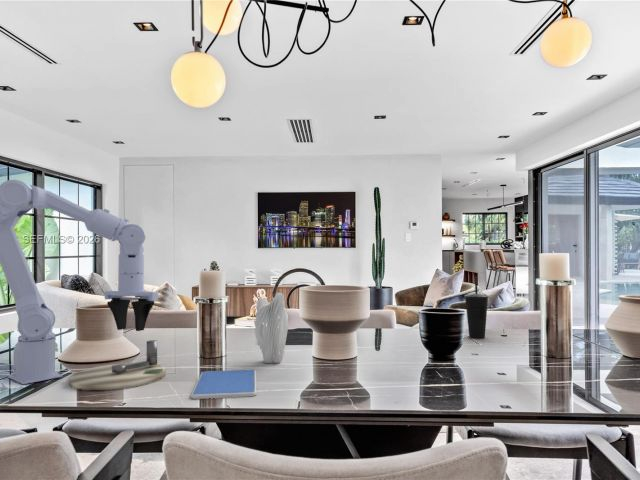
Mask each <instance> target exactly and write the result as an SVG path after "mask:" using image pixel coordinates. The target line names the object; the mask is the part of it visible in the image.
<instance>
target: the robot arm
mask: <svg viewBox="0 0 640 480" xmlns="http://www.w3.org/2000/svg"><path fill="white" fill-rule="evenodd" d="M33 208H35V209H36V210H53V211H54V212H57V213H59V214H62V215H64V216H66V217H70V218H72V219H74V220H77V221H79V222H83V223H84V225H85V229H86V230H87V231H89V232H91V233H93V234H95V235H98V236H100V237H102V238H104V239H107V240H109V241H111V242H115V241H118V243H119V244H120V245H119V254H118V265H117V267H118V268H117V269H118V270H117V271H118V275H117V276H118V280H117V283H118V284H117V285H118V286H117V290H108V291H107V290H105V291H104V300H110V301H107V302H106V305H107V306H108V308H109V309H110V312H111V314H112V316H113V317H114V321H115V326H116V329H117V331H120V330H126V329H127V319H128V310H129V305H130V303H131V306H132V308H133V313H134V328H135V331H136V332H141V331H144V330H145V327H146V323H147V321H148V320H147V319H148V317H149V314H150V312H151V311H152V309H153V306H154V305H155V301H159V292H157V291H146V290H145V289H144V288H145V285H144V284H145V283H144V282H145V280H144V279H145V276H144V272H145V271H144V269H145V266H144V265H145V263H144V262H145V257H144V256H145V255H144V245H143V244H144V242H145V240H146V235H145V231H144V229H143V228H142V227H141V226H139V225H138V224H135V223H131V224H129V222H130V220H129V219H127V218H124V219H123V218H120V217H118V216H116V215H114V214H112V213H110V212H111V211H110V210H109V209H107V208H104V209H103V210H102V209H100V208H95V209H93V210H89V209H87V208H85V207H83V206H80V205H79V204H76V203H75V202H72V201H71V200H68V199H67V198H64V197H63V196H60V195H58V194H56V193H54V192H52V191H51V190H50V191H49V190H47V189H45V188H41V187H39V186H36V185H33V184H29V186H28V185H27V183H25V182H24V181H21V180H18V179H8V180H5V181H3V182H2V183H1V184H0V265H1V269H2V271H3V274H4V276H5V279H6V283H8V286H9V289H10V291H11V292H10V293H11V294H12V296H13V299H14V303H15V311H16V314H17V319H18V320H17V321H18V322H17V330H18V333H19V335H18V337H17V342H16V343H15V345H14V348H13V363H12V364H13V372H12V373H13V374H8V378H9V379H11V380H14V381H15V382H17V383H19V384H21V385H26V384H27V385H28V384H31V383H36V382H42V381H46V380H53V379H59V378H61V377H63V374H61V373H58V372H56V333H54V332H53V331H52V330H51V329H52V328H53V327H54V325H55V323H56V316H55V313H54V311H53V310H51V309H50V308H49V307H48V306H47V304H46V303H45V300H44V298H43V296H42V295H41V294H40V291H39V289H38V286H37V284H36V281H35V279H34V276H33V273H32V271H31V269H30V266H29V264H28V261H27V258H26V256H25V253H24V251H23V248H22V245H21V244H20V240H19V238H18V236H17V233H16V230H15V227H16V226H17V224H18V223H19V221H20V220H21V218H22V217H23V216H24V215H25V214H27V213H29V212H30V211H31V210H32V209H33Z"/></svg>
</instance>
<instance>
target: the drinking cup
mask: <svg viewBox="0 0 640 480" xmlns="http://www.w3.org/2000/svg"><path fill="white" fill-rule="evenodd" d="M489 298H490V296H489V295H487V294H485V293H483V292H481V291H478V276H477V275H475V276H474V291H472V292H468V293H467V294H464V299H465V309H466V318H467V327H468V335H469V338H471V339H479V340H480V339H485V338H486V330H487V329H486V328H487V316H488V315H487V314H488V304H489V303H488V300H489Z"/></svg>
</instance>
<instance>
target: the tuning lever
mask: <svg viewBox="0 0 640 480" xmlns="http://www.w3.org/2000/svg"><path fill="white" fill-rule="evenodd" d="M130 363H131V364H122V363H115V364H116V365H113V366H112V372H113V373H119V372H124V371H126V370H130V369H135V368H140V367H145V366H152V365H158V340H156V339H151V340H146V360H142V361H137V362H130Z"/></svg>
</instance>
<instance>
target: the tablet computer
mask: <svg viewBox="0 0 640 480" xmlns="http://www.w3.org/2000/svg"><path fill="white" fill-rule="evenodd" d="M256 395H257V370H256V369H233V370H228V369H227V370H207V371H202V372H200V375H199V377H198V380H197V381H196V384H195V386H194V388H193V390H192V392H191V395H190V398H191V399H193V400H194V399H195V400H211V399H213V398H214V399H230V398H231V399H232V398H234V399H235V398H247V397H253V396H256ZM209 398H211V399H209ZM214 399H213V400H214Z"/></svg>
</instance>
